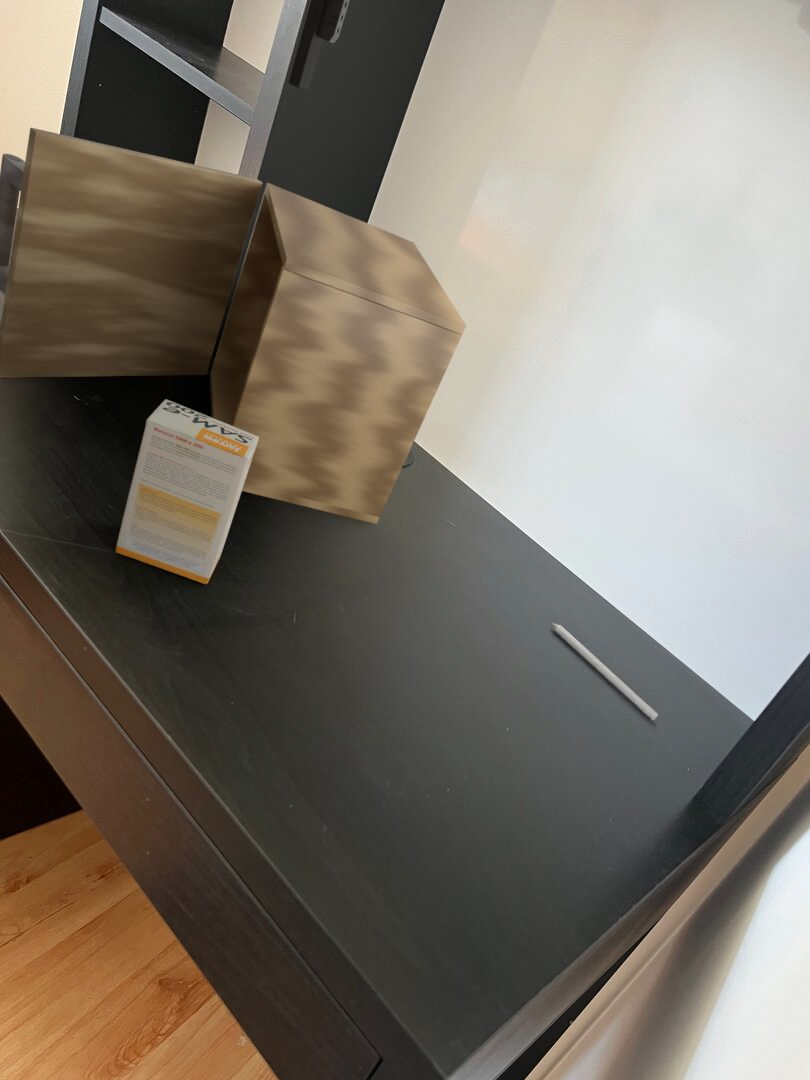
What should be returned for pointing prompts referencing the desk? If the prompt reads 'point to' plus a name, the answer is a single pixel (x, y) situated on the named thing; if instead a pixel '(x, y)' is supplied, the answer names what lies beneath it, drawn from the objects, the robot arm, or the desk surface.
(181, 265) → the cupboard door
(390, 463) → the cupboard
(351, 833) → the desk surface
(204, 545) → the supplement box
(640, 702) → the pencil
